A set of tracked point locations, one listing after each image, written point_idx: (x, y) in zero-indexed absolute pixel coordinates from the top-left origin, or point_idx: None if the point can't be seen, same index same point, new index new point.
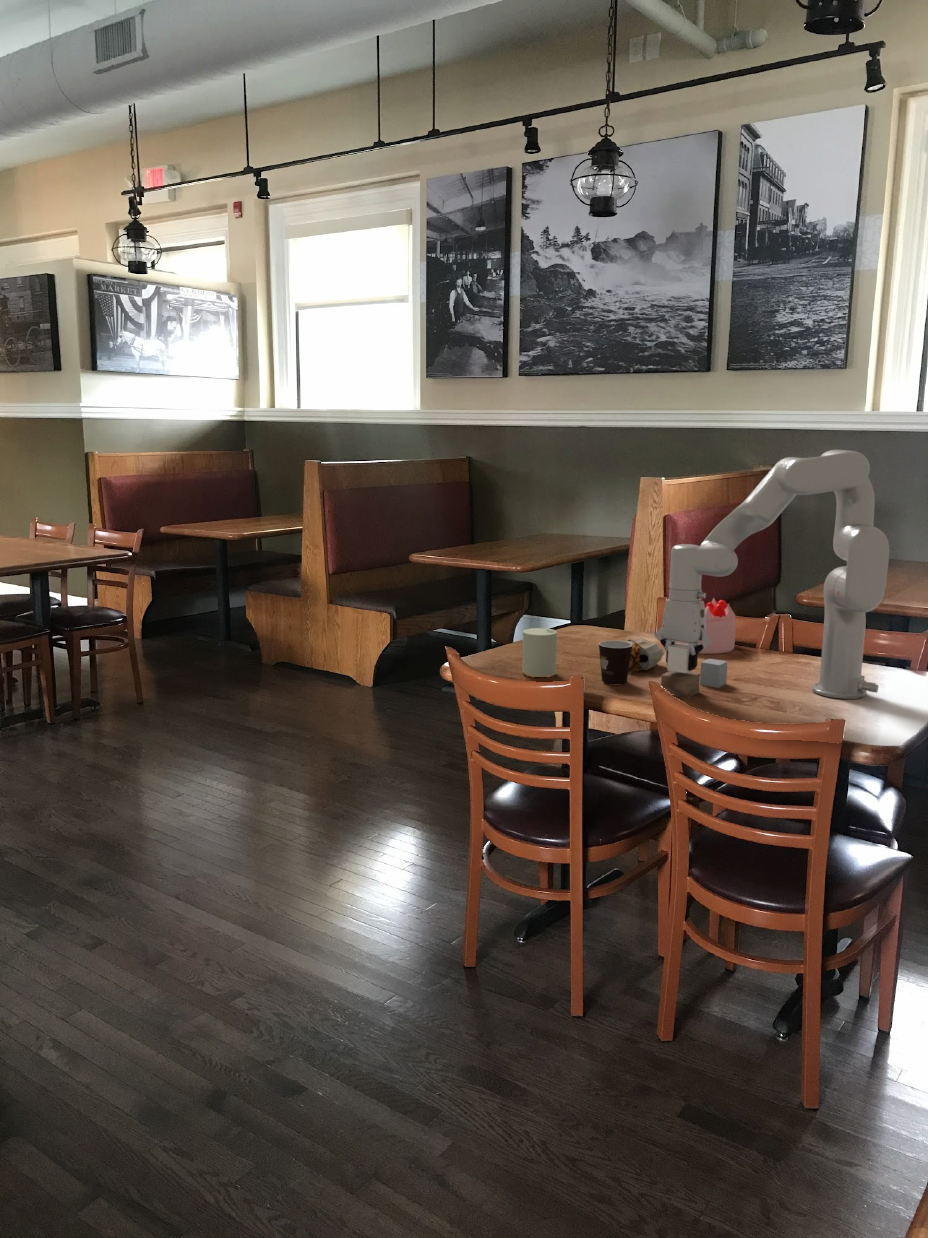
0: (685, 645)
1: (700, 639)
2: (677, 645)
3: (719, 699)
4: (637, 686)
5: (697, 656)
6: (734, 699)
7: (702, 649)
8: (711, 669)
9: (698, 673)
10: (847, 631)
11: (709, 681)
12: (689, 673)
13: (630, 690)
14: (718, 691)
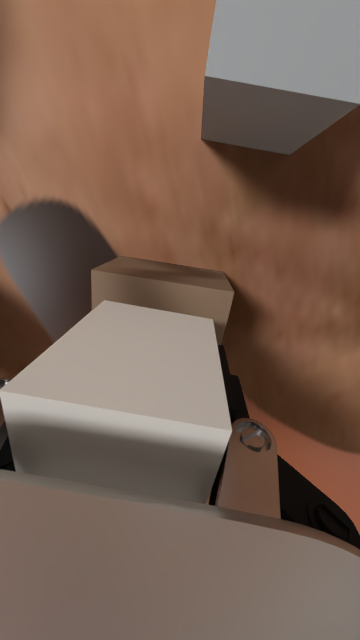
0: (128, 459)
1: (325, 548)
2: (66, 479)
3: (304, 325)
4: (18, 298)
5: (247, 416)
6: (357, 302)
7: (310, 488)
8: (280, 112)
9: (227, 292)
10: None
11: (251, 138)
12: (187, 314)
13: (30, 350)
14: (294, 219)
